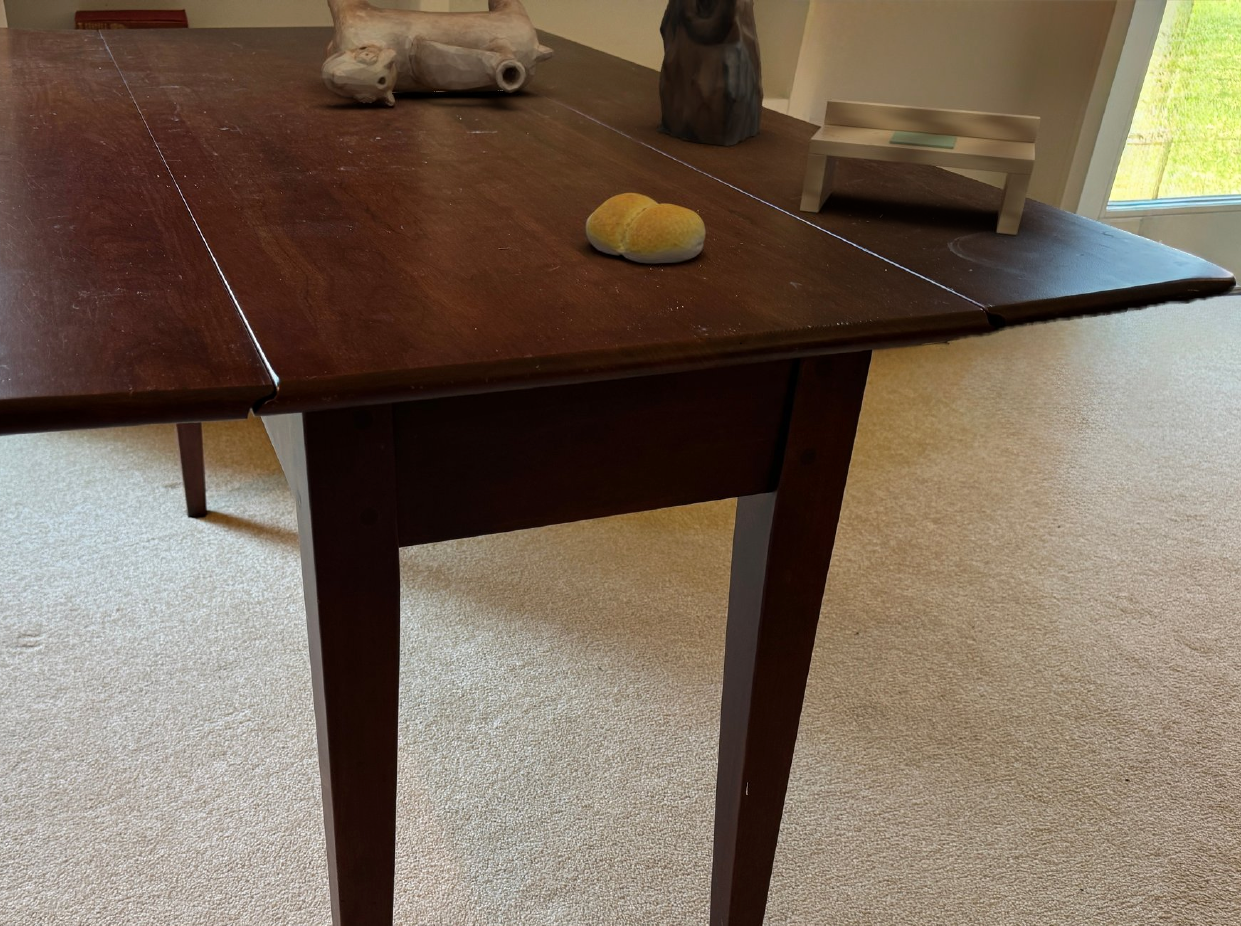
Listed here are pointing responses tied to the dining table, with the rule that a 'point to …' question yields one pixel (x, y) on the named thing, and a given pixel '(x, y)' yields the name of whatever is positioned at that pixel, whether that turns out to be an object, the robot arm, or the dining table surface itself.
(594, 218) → the bread roll
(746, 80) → the owl
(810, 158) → the bench
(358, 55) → the ceramic vessel
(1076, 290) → the dining table surface
